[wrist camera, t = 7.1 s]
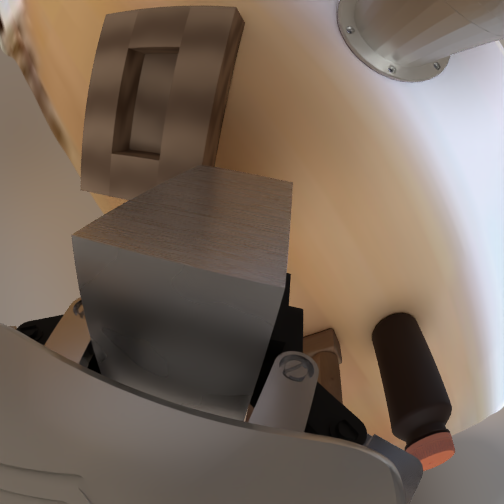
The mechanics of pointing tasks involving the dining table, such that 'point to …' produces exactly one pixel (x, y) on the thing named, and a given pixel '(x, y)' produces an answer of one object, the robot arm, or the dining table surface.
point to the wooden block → (322, 362)
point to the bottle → (413, 390)
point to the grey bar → (188, 286)
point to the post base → (157, 96)
